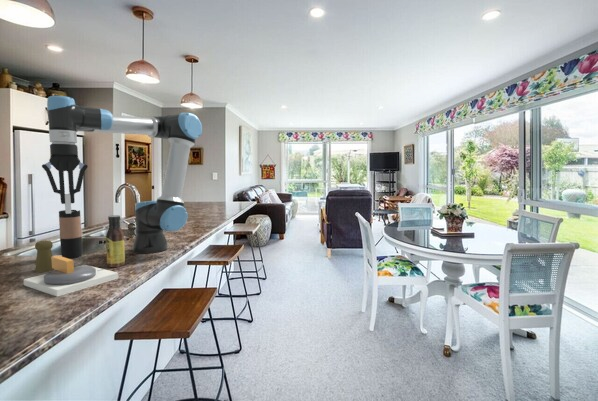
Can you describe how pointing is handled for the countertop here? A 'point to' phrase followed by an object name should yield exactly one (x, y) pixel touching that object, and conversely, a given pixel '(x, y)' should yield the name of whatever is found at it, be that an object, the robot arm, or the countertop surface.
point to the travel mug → (70, 234)
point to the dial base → (64, 289)
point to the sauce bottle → (115, 243)
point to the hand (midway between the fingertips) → (68, 213)
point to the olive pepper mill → (44, 256)
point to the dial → (67, 272)
